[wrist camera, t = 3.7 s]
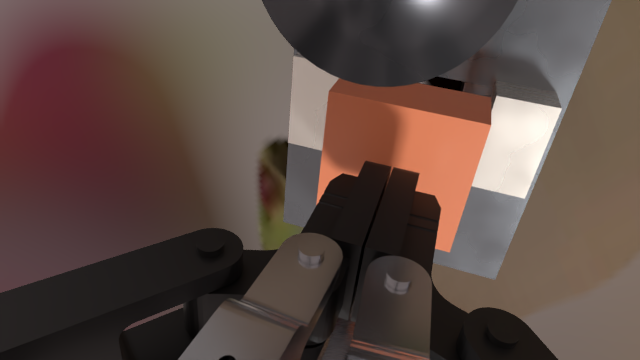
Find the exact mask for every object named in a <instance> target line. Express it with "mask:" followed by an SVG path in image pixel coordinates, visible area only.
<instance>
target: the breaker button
mask: <svg viewBox="0 0 640 360" xmlns="http://www.w3.org/2000/svg"><path fill="white" fill-rule="evenodd" d="M490 128H491V97H486V96H481V95H476V94H471V93H466V92H461V91H456V90H451V89H446V88H441V87H435V86H430V85H425V84H420V83H415V84H411V85H404V86H396V87H375V86H368V85H360V84H357V83H353V82H349V81H346V80H343V79H341V78H339V79H338V80H337V82H336V83H335V84H334V85H333V86H332V88H331V89H330V90H329V93H328V102H327V111H326V120H325V129H324V138H323V148H322V157H321V166H320V175H319V184H318V193H317V203H316V205H317V204H318V203H319V200H320V198H321V196H322V195H323V194H324V191H325V189H326V187H327V186H328V184H329V182H330V181H331V180H332V179H334V178H336V177H337V176H339V175H341V174H342V173H344V174H348V175H353V176H357V177H358V175H359V173H360V171H361V169H362V166H363V164H364V162H365V161H371V162H375V163H379V164H383V165H387V166H391V167H392V168H391V172H392V170H393V167H396V168H401V169H405V170H409V171H413V172H417V173H420V174H419V178H418V182H417V186H416V190H415V191H418V192H422V193H427V194H431V195H435V197H436V199H437V201H438V203H439V205H440V207H441V213H440V220H439V226H438V232H437V239H436V245H435V249H438V250H442V251H446V252H449V253H450V250H451V247H452V244H453V241H454V238H455V235H456V232H457V228H458V225H459V222H460V219H461V216H462V213H463V210H464V207H465V204H466V201H467V198H468V195H469V192H470V189H471V186H472V183H473V180H474V177H475V174H476V170H477V167H478V164H479V161H480V158H481V155H482V152H483V149H484V146H485V143H486V140H487V137H488V134H489V131H490ZM390 175H391V174H390Z"/></svg>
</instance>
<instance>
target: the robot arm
mask: <svg viewBox="0 0 640 360" xmlns="http://www.w3.org/2000/svg"><path fill="white" fill-rule="evenodd" d="M391 168H392V167H391V166H387V165H383V164H379V163H375V162H371V161H365V162H364V164H363V166H362V169H361V171H360V173H359V175H358V177H357V176H353V175H348V174H344V173H342V174H341V175H339V176H337V177H336V178H334V179H332V180H331V181H330V182H329V184H328V186H327V187H326V189H325V191H324V194H323V195H322V196H321V198H320V200H319V203H318V204H317V205H316V207H315V209H314V211H313V212H312V214H311V216H310V218H309V220H308V221H307V223H306V225H305V227H304V229H303V230H302V232H301V233H300V234H296V235H293V236H291V237H289V238H288V239H286V240H285V241H284V242H283V243H282V245H281V246H280V248H279V249H276V250H266V251H262V250H243V244H242V241H241V240H240V238H239V237H238V236H237V235H235V234H234V233H232V232H230V231H227V230H225V229H219V228H207V229H201V230H198V231H195V232H192V233H188V234H185V235H182V236H179V237H176V238H172V239H170V240H166V241H163V242H160V243H157V244H153V245H150V246H147V247H144V248H141V249H138V250H135V251H131V252H128V253H125V254H122V255H119V256H116V257H113V258H110V259H106V260H103V261H100V262H97V263H94V264H90V265H87V266H85V267H81V268H78V269H75V270H72V271H68V272H65V273H62V274H59V275H56V276H53V277H50V278H47V279H43V280H40V281H37V282H34V283H31V284H28V285H24V286H21V287H18V288H15V289H12V290H9V291H5V292H2V293H0V360H322V357H323V355H324V353H325V351H326V349H327V347H328V344H329V340H330V335H331V334H332V332H333V330H334V328H335V325H336V322H337V319H338V317H339V318H342V319H345V320H348V319H349V316H350V313H351V310H352V307H353V304H354V307H353V312H352V317H351V321H352V322H355V327H354V332H353V337H352V341H351V345H350V350H349V354H348V359H347V360H558V359H557V358H556V357H555V356H554V354H553V353H552V352H551V351H550V350H549V349H548V348H547V347H546V345H545V344H544V343H543V342H542V341H541V340H540V339H539V338H538V336H537V335H536V334H535V333H534V332H533V331H532V330H531V329H530V328H529V326H528V325H527V324H526V323H524V322H523V321H522V320H521V319H519V318H518V317H516V316H515V315H513V314H511V313H509V312H506V311H504V310H501V309H497V308H490V307H487V308H478V309H476V310H473V311H472V312H470V313H469V314H468V313H467V312H465V311H463V310H461V309H459V308H458V307H456V306H454V305H453V304H451V303H450V302H448V301H447V300H446V299H444V298H443V297H442V296H441V295H440V293H439V292H438V291H437V290H436V288H435V286H434V284H433V282H432V277H431V271H432V265H433V258H434V252H435V245H436V239H437V232H438V226H439V220H440V213H441V207H440V205H439V203H438V201H437V199H436V197H435V195H431V194H427V193H422V192H418V191H415V190H416V186H417V182H418V178H419V174H420V173H417V172H413V171H409V170H405V169H401V168H396V167H393V170H392V172H391ZM390 174H391V175H390ZM354 301H355V302H354ZM180 304H183V308H181V309H178V310H176V311H173V312H171V313H169V314H166V315H163V316H161V317H158V318H156V319H153V320H151V321H148V322H146V323H143V324H141V325H138V326H136V327H133V328H131V329H128V330H126V331H123V330H124V329H125V328H126V327H128V326H129V325H131V324H132V323H135V322H137V321H140V320H142V319H145V318H147V317H149V316H152V315H155V314H157V313H160V312H162V311H165V310H167V309H170V308H172V307H175V306H177V305H180Z"/></svg>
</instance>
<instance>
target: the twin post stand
mask: <svg viewBox="0 0 640 360" xmlns="http://www.w3.org/2000/svg"><path fill="white" fill-rule="evenodd" d="M262 1H263V4H264V6H265V7H266V9H267V11H268V13H269V15H270V17H271V19H272V20H273V22H274V24H275V25H276V27H277V28H278V30H279V31H280V33H281V34H282V35H283V36H284V37H285V38H286V40H287V41H288V42H289V43H290V44H291V46H292V47H293V48H294V56H293V71H292V87H291V102H290V119H289V136H288V157H287V173H286V189H285V205H284V221H283V222H286V223H290V224H294V225H297V226H301V227H305V225H306V223H307V221H308V220H309V218H310V216H311V214H312V212H313V211H314V209H315V207H316V203H317V193H318V184H319V175H320V166H321V157H322V148H323V138H324V129H325V120H326V111H327V102H328V93H329V90H330V89H331V88H332V86H333V85H334V84H335V83H336V82H337V80H338V79H339V78H341V79H343V80H346V81H349V82H353V83H357V84H360V85H368V86H375V87H396V86H404V85H411V84H415V83H419V82H423V81H426V80H429V79H432V78H434V77H437V76H438V77H443V78H448V79H453V80H459V81H462V85H461V89H460V91H461V92H466V93H471V94H476V95H481V96H486V97H491V128H490V131H489V134H488V137H487V140H486V143H485V146H484V149H483V152H482V155H481V158H480V161H479V164H478V167H477V170H476V174H475V177H474V180H473V183H472V186H471V189H470V192H469V195H468V198H467V201H466V204H465V207H464V210H463V213H462V216H461V219H460V222H459V225H458V228H457V232H456V235H455V238H454V241H453V244H452V247H451V250H450V253H449V252H446V251H442V250H438V249H435V252H434V258H433V263H436V264H439V265H443V266H447V267H450V268H454V269H458V270H461V271H465V272H469V273H472V274H476V275H480V276H483V277H487V278H491V279H494V280H495V278H496V276H497V274H498V271H499V269H500V266H501V264H502V262H503V259H504V257H505V254H506V252H507V250H508V247H509V245H510V242H511V240H512V238H513V235H514V233H515V230H516V228H517V226H518V223H519V221H520V218H521V216H522V214H523V211H524V209H525V206H526V204H527V202H528V199H529V197H530V194H531V192H532V190H533V187H534V185H535V182H536V180H537V178H538V175H539V173H540V170H541V168H542V166H543V163H544V161H545V158H546V156H547V154H548V151H549V149H550V146H551V144H552V142H553V139H554V137H555V135H556V132H557V130H558V127H559V125H560V123H561V120H562V118H563V115H564V113H565V111H566V108H567V106H568V103H569V101H570V99H571V96H572V94H573V91H574V89H575V87H576V84H577V82H578V79H579V77H580V75H581V72H582V70H583V67H584V65H585V63H586V60H587V58H588V55H589V53H590V51H591V48H592V46H593V43H594V41H595V39H596V36H597V34H598V31H599V29H600V27H601V24H602V22H603V19H604V17H605V15H606V12H607V10H608V7H609V5H610V3H611V0H262ZM354 302H355V301H354ZM353 307H354V304H353ZM353 307H352V310H351V313H350V316H349V319H348V320H345V319H342V318H339V317H338V319H337V322H336V325H335V328H334V330H333V332H332V334H331V335H330V340H329V344H328V347H327V349H326V351H325V353H324V355H323V357H322V360H347V359H348V354H349V350H350V345H351V341H352V337H353V332H354V327H355V322H352V321H351V317H352V312H353Z"/></svg>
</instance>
